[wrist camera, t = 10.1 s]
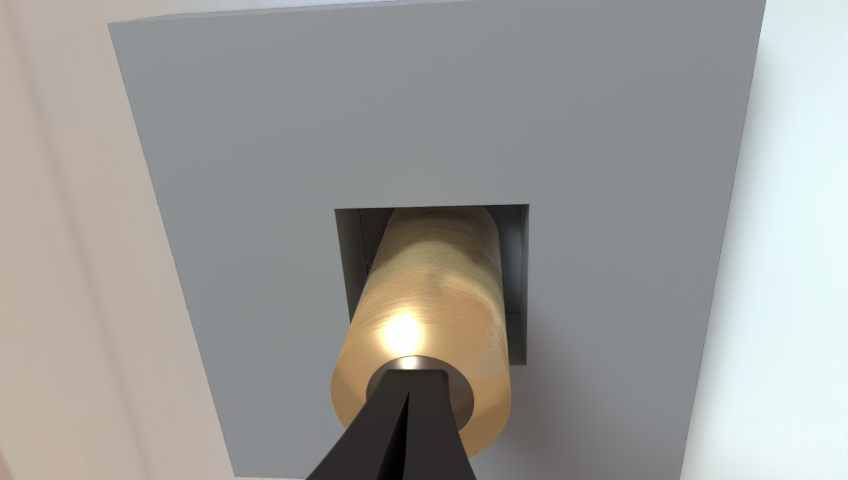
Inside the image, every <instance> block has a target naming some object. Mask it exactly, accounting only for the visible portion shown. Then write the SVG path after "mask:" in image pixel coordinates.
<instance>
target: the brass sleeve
mask: <svg viewBox="0 0 848 480" xmlns="http://www.w3.org/2000/svg"><path fill="white" fill-rule="evenodd" d="M388 369H443V370H444V371H445V372H447V373H448V378H449V396H450V402H451V406H452V411H453V415H454V419H455V422H456V425H457V428H458V432H459V435H460V438H461V441H462V444H463V447H464V449H465V452H466V455H467V457H468V458H470V457H472V456H474V455H476V454H478V453H479V452H481V451H483V450H484V449H485V448H487V447H488V446H489V445H490V444H491V443H492V442H493V441H494V440H495V439H496V438H497V437H498V436H499V435H500V433H501V432H502V430H503V429H504V427H505V425H506V423H507V420H508V417H509V414H510V409H511V387H510V374H509V361H508V348H507V335H506V321H505V308H504V295H503V282H502V269H501V256H500V243H499V234H498V229H497V226H496V223H495V221H494V219H493V217H492V216H491V214H490V213H489V211H488V210H487V209H486V208H485V207H484V206H483V205H465V206H424V207H397V208H396V209H395V210H394V212H393V213H392V215H391V216H390V218H389V220H388V223H387V226H386V228H385V231H384V234H383V237H382V239H381V242H380V245H379V248H378V250H377V253H376V256H375V259H374V261H373V264H372V267H371V270H370V272H369V275H368V278H367V281H366V283H365V286H364V289H363V292H362V294H361V297H360V300H359V303H358V306H357V308H356V311H355V314H354V317H353V319H352V322H351V325H350V328H349V330H348V333H347V336H346V339H345V341H344V344H343V347H342V350H341V352H340V355H339V358H338V361H337V363H336V366H335V369H334V372H333V375H332V380H331V398H332V404H333V407H334V410H335V413H336V415H337V417H338V418H339V420H340V422H341V423H342V425H343V426H344V428H345V429H347V428H348V427H349V425H350V424H351V422H352V421H353V420H354V418H355V417H356V416H357V414H358V413H359V411H360V410H361V408H362V407H363V405H364V404H365V402H366V401H367V399H368V398H369V396H370V395H371V393H372V392H373V390H374V388H375V387H376V385H377V383H378V382H379V380H380V378H381V377H382V375H383V373H384V372H385V371H386V370H388Z"/></svg>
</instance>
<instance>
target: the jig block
mask: <svg viewBox="0 0 848 480" xmlns="http://www.w3.org/2000/svg"><path fill="white" fill-rule="evenodd" d="M765 4H766V0H397V1H381V2H366V3H350V4H334V5H319V6H303V7H287V8H272V9H256V10H240V11H225V12H209V13H194V14H178V15H164V16H157V17H150V18H143V19H135V20H128V21H121V22H114V23H107V25H108V28H109V32H110V36H111V39H112V43H113V46H114V50H115V53H116V57H117V60H118V64H119V67H120V71H121V75H122V78H123V82H124V85H125V89H126V92H127V96H128V99H129V103H130V106H131V110H132V114H133V117H134V121H135V124H136V128H137V131H138V135H139V138H140V142H141V145H142V149H143V153H144V156H145V160H146V163H147V167H148V170H149V174H150V177H151V181H152V185H153V188H154V192H155V195H156V199H157V202H158V206H159V209H160V213H161V216H162V220H163V224H164V227H165V231H166V234H167V238H168V241H169V245H170V248H171V252H172V255H173V259H174V263H175V266H176V270H177V273H178V277H179V280H180V284H181V287H182V291H183V294H184V298H185V302H186V305H187V309H188V312H189V316H190V319H191V323H192V326H193V330H194V334H195V337H196V341H197V344H198V348H199V351H200V355H201V358H202V362H203V365H204V369H205V373H206V376H207V380H208V383H209V387H210V390H211V394H212V397H213V401H214V404H215V408H216V412H217V415H218V419H219V422H220V426H221V429H222V433H223V436H224V440H225V443H226V447H227V451H228V454H229V458H230V461H231V465H232V468H233V472H234V475H235V477H261V478H298V479H306V478H307V477H308V476H309V475H310V474H311V473H312V472H313V471H314V469H315V468H316V467H317V466H318V465H319V464H320V462H321V461H322V460H323V459H324V457H325V456H326V455H327V454H328V452H329V451H330V450H331V449H332V448H333V446H334V445H335V444H336V443H337V441H338V440H339V439H340V438H341V436H342V435H343V434H344V432H345V431H346V429H345V428H344V426H343V425H342V423H341V422H340V420H339V418H338V417H337V415H336V413H335V410H334V407H333V404H332V398H331V380H332V375H333V372H334V369H335V366H336V363H337V361H338V358H339V355H340V352H341V350H342V347H343V344H344V341H345V339H346V336H347V333H348V330H349V328H350V325H351V322H352V319H353V317H354V314H355V311H356V308H357V306H358V303H359V300H360V297H361V294H362V292H363V289H364V286H365V283H366V281H367V271H366V262H365V254H364V246H363V237H362V229H361V220H360V212H359V208H384V207H424V206H465V205H505V204H522V213H521V291H520V314H505V321H506V335H507V348H508V361H509V374H510V387H511V409H510V414H509V417H508V420H507V423H506V425H505V427H504V429H503V430H502V432H501V433H500V435H499V436H498V437H497V438H496V439H495V440H494V441H493V442H492V443H491V444H490V445H489V446H488V447H487V448H485V449H484V450H483V451H481V452H479V453H478V454H476V455H474V456H472V457H470V458H468V460H469V462H470V465H471V467H472V470H473V472H474V474H475V477H476V479H477V480H679V479H680V473H681V468H682V462H683V457H684V451H685V446H686V440H687V435H688V429H689V424H690V418H691V413H692V407H693V401H694V396H695V390H696V385H697V379H698V374H699V368H700V363H701V357H702V352H703V346H704V341H705V335H706V330H707V324H708V319H709V313H710V308H711V302H712V297H713V291H714V286H715V280H716V275H717V269H718V263H719V258H720V252H721V247H722V241H723V236H724V230H725V225H726V219H727V214H728V208H729V203H730V197H731V192H732V186H733V181H734V175H735V170H736V164H737V159H738V153H739V148H740V142H741V137H742V131H743V125H744V120H745V114H746V109H747V103H748V98H749V92H750V87H751V81H752V76H753V70H754V65H755V59H756V54H757V48H758V43H759V37H760V32H761V26H762V21H763V15H764V10H765Z"/></svg>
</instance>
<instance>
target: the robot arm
mask: <svg viewBox="0 0 848 480" xmlns="http://www.w3.org/2000/svg"><path fill="white" fill-rule="evenodd" d="M305 480H477V479H476V477H475V474H474V472H473V470H472V467H471V465H470V462H469V460H468V457H467V455H466V452H465V449H464V447H463V444H462V441H461V438H460V435H459V432H458V428H457V425H456V422H455V419H454V415H453V411H452V406H451V402H450V396H449V378H448V373H447V372H445V371H444V370H443V369H388V370H386V371H385V372H384V373H383V375H382V377H381V378H380V380H379V382H378V383H377V385H376V387H375V388H374V390H373V392H372V393H371V395H370V396H369V398H368V399H367V401H366V402H365V404H364V405H363V407H362V408H361V410H360V411H359V413H358V414H357V416H356V417H355V418H354V420H353V421H352V422H351V424H350V425H349V427H348V428H347V429H346V431H345V432H344V434H343V435H342V436H341V438H340V439H339V440H338V441H337V443H336V444H335V445H334V446H333V448H332V449H331V450H330V451H329V452H328V454H327V455H326V456H325V457H324V459H323V460H322V461H321V462H320V464H319V465H318V466H317V467H316V468H315V469H314V471H313V472H312V473H311V474H310V475H309V476H308V477H307V478H306V479H305Z"/></svg>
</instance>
